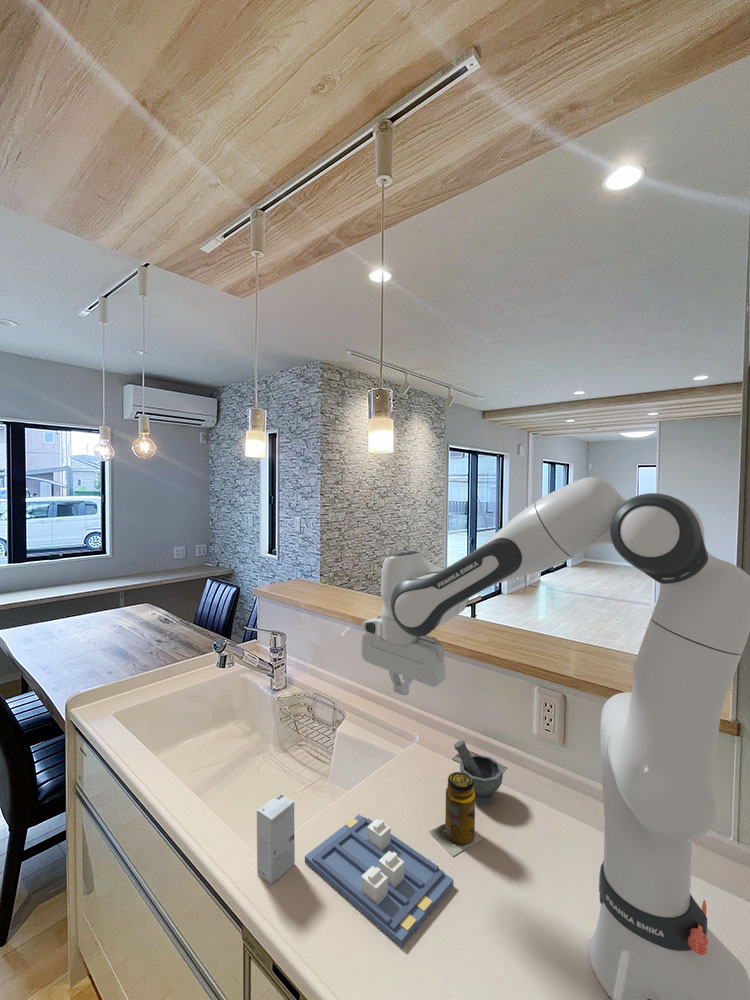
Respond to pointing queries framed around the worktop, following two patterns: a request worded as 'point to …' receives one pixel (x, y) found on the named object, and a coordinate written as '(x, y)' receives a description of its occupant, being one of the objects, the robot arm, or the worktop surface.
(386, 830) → the tab
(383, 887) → the tab
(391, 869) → the tab
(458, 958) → the worktop surface
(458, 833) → the condiment
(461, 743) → the mortar and pestle
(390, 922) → the switch bank
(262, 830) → the skincare box
